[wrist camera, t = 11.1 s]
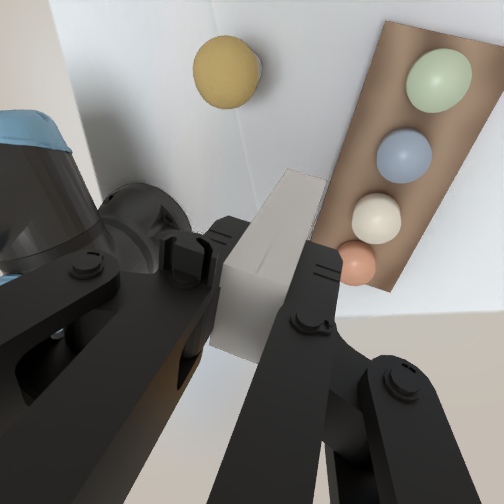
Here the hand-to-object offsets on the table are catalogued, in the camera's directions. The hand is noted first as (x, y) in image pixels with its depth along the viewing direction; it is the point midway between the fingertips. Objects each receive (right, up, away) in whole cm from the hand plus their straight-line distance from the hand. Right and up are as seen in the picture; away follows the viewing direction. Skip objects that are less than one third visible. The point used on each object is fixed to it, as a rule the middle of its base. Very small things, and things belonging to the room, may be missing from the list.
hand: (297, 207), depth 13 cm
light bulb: (-2, +19, +26) cm, 33 cm away
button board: (+14, +8, +28) cm, 32 cm away
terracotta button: (+11, -2, +31) cm, 33 cm away
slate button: (+14, +9, +23) cm, 28 cm away
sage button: (+15, +14, +19) cm, 28 cm away
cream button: (+12, +3, +26) cm, 29 cm away
